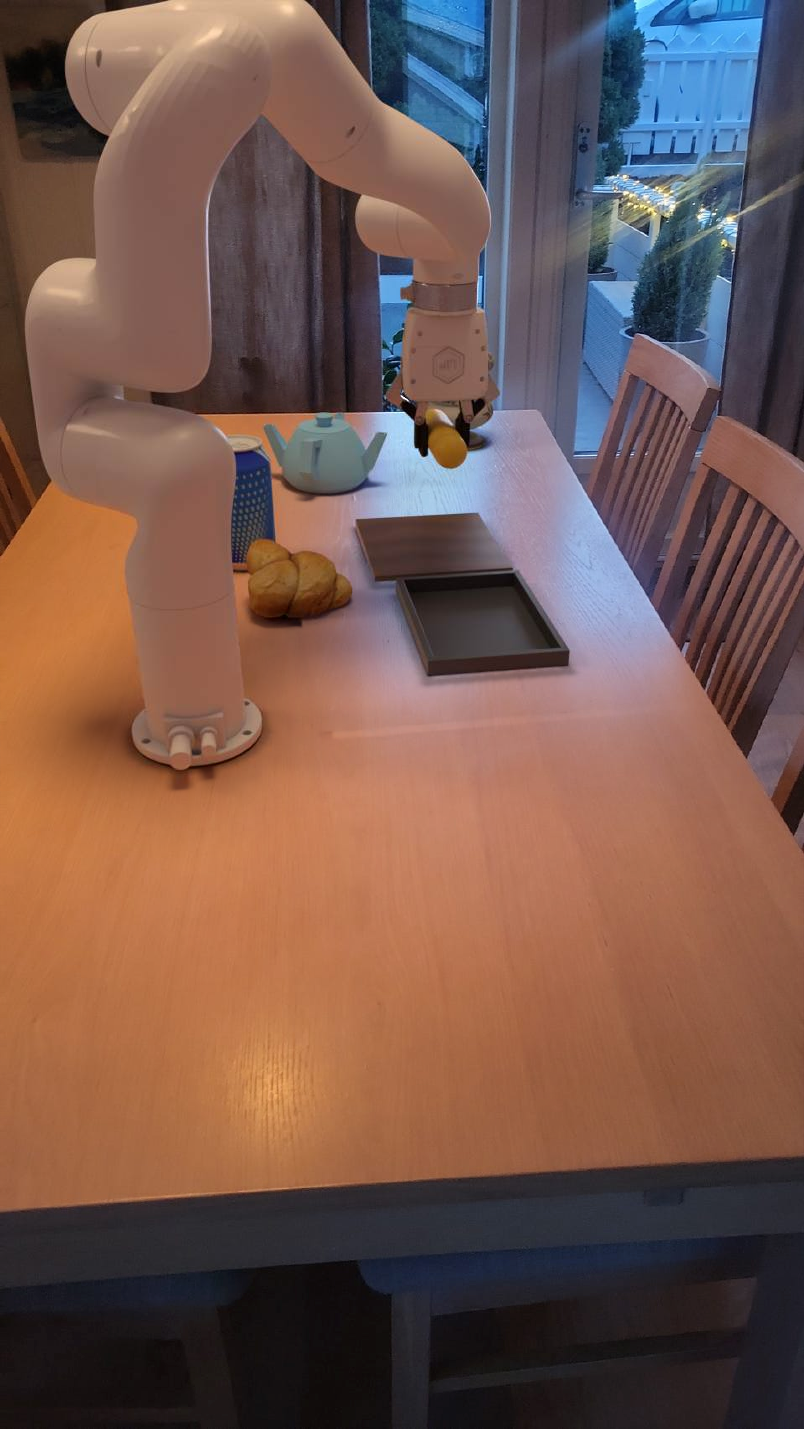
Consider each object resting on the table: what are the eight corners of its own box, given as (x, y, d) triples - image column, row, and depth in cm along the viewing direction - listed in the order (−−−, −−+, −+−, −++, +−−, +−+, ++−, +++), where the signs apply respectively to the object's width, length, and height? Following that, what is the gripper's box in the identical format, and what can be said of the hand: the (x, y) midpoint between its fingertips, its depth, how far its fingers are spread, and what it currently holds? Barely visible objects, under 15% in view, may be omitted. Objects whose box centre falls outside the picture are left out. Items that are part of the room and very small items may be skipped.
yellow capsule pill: (469, 472, 122) (471, 439, 120) (436, 474, 122) (437, 440, 119) (445, 435, 135) (446, 404, 133) (415, 436, 134) (415, 405, 132)
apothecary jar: (417, 434, 186) (419, 330, 177) (482, 431, 188) (486, 328, 179) (431, 454, 176) (433, 346, 167) (499, 451, 178) (505, 343, 169)
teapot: (261, 475, 167) (257, 409, 161) (343, 460, 173) (341, 396, 168) (305, 504, 156) (301, 433, 150) (389, 487, 162) (389, 418, 157)
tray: (567, 671, 112) (570, 650, 111) (427, 682, 110) (428, 661, 109) (517, 588, 130) (518, 569, 129) (395, 596, 128) (396, 577, 127)
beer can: (217, 576, 133) (205, 454, 125) (210, 551, 140) (198, 434, 131) (281, 569, 135) (274, 449, 126) (271, 545, 142) (263, 430, 133)
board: (512, 578, 133) (513, 567, 132) (374, 587, 130) (374, 576, 130) (477, 522, 150) (478, 512, 149) (355, 528, 147) (355, 519, 146)
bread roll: (355, 593, 129) (353, 533, 125) (349, 628, 121) (347, 565, 116) (252, 591, 129) (248, 531, 125) (240, 626, 121) (234, 563, 117)
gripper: (377, 305, 114) (379, 465, 124) (524, 301, 116) (514, 459, 126) (369, 293, 120) (370, 446, 130) (508, 289, 123) (499, 441, 132)
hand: (441, 451), depth 128 cm, fingers closed on yellow capsule pill, 4 cm apart
